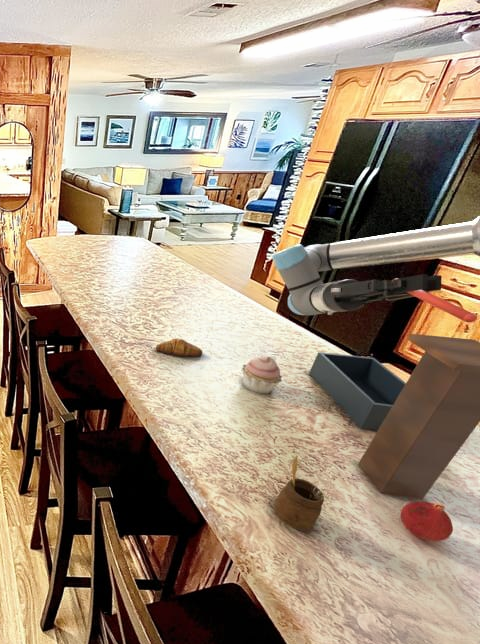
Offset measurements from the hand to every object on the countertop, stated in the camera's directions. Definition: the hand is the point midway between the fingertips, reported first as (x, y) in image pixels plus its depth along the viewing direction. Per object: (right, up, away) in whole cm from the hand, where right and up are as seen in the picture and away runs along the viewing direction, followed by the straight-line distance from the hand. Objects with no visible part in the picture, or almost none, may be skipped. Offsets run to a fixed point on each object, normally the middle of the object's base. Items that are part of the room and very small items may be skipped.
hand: (431, 282), depth 72 cm
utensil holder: (-28, -43, -2) cm, 51 cm away
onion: (-9, -44, -5) cm, 45 cm away
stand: (-3, -39, +6) cm, 40 cm away
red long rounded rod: (0, -4, 0) cm, 4 cm away
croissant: (-26, -19, +47) cm, 57 cm away
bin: (+12, -29, +27) cm, 42 cm away
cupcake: (-11, -26, +32) cm, 43 cm away
